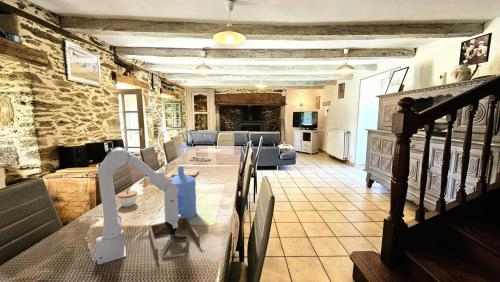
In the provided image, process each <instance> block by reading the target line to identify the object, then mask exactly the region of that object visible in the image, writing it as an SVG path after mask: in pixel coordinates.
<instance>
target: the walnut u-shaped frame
mask: <svg viewBox="0 0 500 282" xmlns="http://www.w3.org/2000/svg"><path fill="white" fill-rule="evenodd" d="M178 221H179V225H178V227H177V229H180V228H184V227H185V229H186V230H187V232H188V234H189V235H190V237H191V238H192V240H193V241H194V243H195V245H196V247H201V243H200V237H201V236H200V235H199V233H198V232H197V231H196V229H195V227H194V225H192V223H191V221H190V219H188V218H187V217H183V218H179V219H178ZM165 232H169V231H168V227H167V226H166V224H165V221H161V222H159V223H154V224H151V225H148V238H149V240H150V244H151V248H152V252H153V255H154V260H156V261H157V260H159V250H158V249H159V248H158V244H157V241H156V238H155V235H157V234H160V233H165Z"/></svg>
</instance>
